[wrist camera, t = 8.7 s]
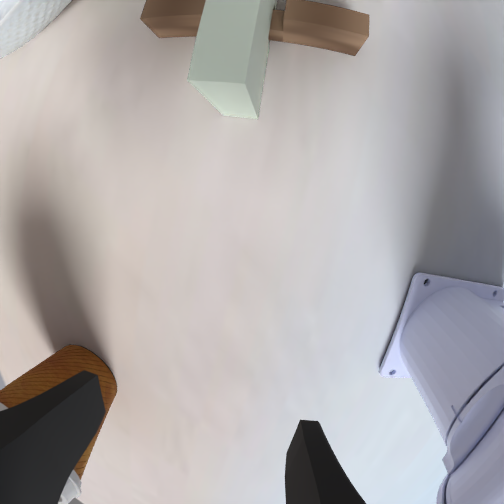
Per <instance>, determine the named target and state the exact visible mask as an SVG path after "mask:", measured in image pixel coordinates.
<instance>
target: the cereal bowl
mask: <svg viewBox="0 0 504 504" xmlns="http://www.w3.org/2000/svg"><path fill="white" fill-rule="evenodd" d="M71 1H72V0H0V59H1V58H3V57H4V56H6V55H9V54H10V53H12V52H14V51H15V50H17V49H18V48H20V47H22V46H23V45H24V44H25V43H27V42H29V41H30V40H31V39H32V38H34V37H35V36H36V35H37V34H38V33H40V32H41V31H42V30H43V29H44V28H45V27H46V26H47V25H48V24H49V23H50V22H51V21H52V20H54V18H55V17H57V16H58V14H59V13H61V11H62V10H63V9H64V8H65V7H66V6H67V5H68V4H69V3H70V2H71Z"/></svg>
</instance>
